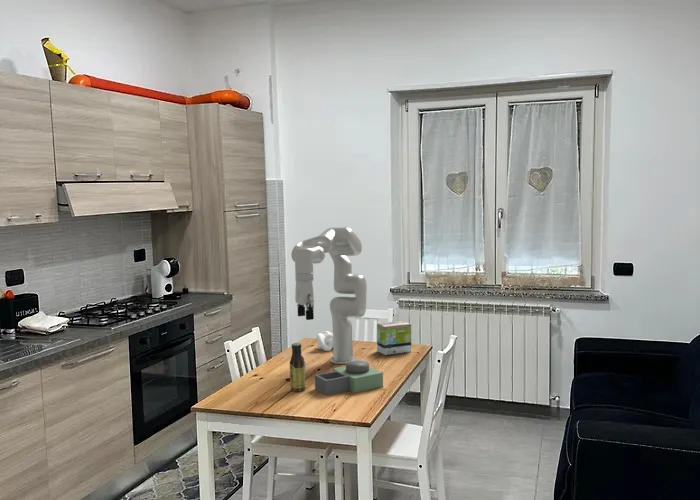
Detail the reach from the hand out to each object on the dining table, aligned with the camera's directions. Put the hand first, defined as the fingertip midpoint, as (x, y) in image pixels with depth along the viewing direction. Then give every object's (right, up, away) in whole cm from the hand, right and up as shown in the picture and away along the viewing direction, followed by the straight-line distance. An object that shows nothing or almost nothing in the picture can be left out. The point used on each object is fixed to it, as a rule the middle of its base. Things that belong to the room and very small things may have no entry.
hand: (305, 317), depth 270 cm
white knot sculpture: (+7, -24, +67) cm, 72 cm away
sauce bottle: (-3, -31, 0) cm, 31 cm away
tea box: (+41, -24, +58) cm, 75 cm away
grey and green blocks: (+17, -29, +3) cm, 34 cm away
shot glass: (-4, -29, +18) cm, 34 cm away
